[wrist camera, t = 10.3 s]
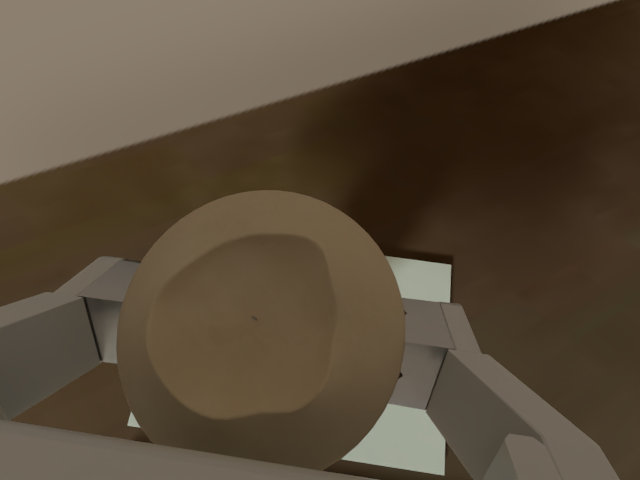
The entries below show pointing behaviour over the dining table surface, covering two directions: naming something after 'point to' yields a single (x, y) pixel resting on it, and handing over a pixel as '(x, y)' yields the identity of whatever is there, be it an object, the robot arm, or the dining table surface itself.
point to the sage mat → (398, 421)
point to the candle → (262, 332)
